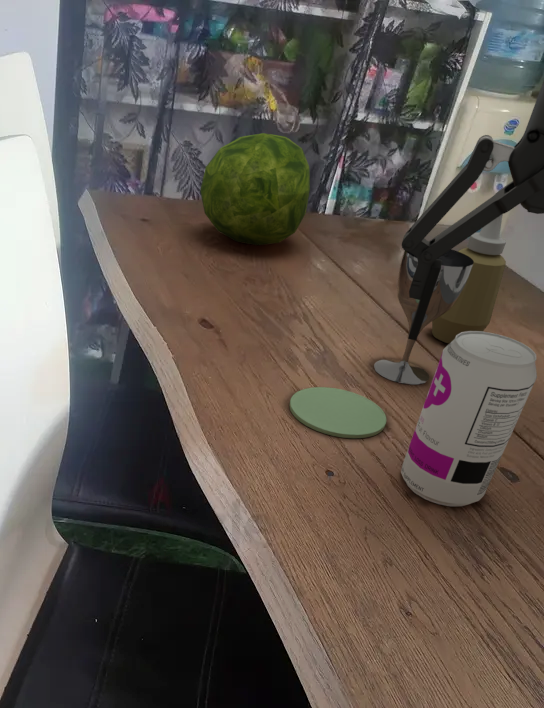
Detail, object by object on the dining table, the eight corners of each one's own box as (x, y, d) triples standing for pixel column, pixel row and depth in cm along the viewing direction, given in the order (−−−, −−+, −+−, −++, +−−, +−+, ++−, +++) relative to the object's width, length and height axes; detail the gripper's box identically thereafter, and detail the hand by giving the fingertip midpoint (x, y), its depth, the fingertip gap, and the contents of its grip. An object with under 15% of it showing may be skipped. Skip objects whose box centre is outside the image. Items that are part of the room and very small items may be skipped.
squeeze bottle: (473, 355, 102) (524, 222, 91) (416, 338, 105) (460, 206, 94) (486, 338, 108) (536, 211, 97) (432, 322, 111) (475, 197, 100)
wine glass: (392, 353, 100) (427, 241, 91) (443, 376, 95) (486, 260, 87) (358, 366, 95) (392, 249, 86) (411, 391, 91) (452, 271, 82)
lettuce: (309, 237, 143) (317, 132, 135) (301, 254, 123) (310, 132, 115) (211, 235, 147) (213, 133, 139) (188, 251, 127) (190, 133, 119)
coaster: (389, 405, 87) (390, 401, 87) (379, 448, 79) (381, 444, 78) (299, 382, 90) (300, 378, 89) (280, 422, 81) (281, 418, 81)
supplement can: (394, 495, 72) (445, 352, 63) (403, 455, 78) (451, 321, 69) (480, 520, 70) (545, 376, 61) (482, 477, 76) (542, 341, 67)
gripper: (423, 54, 52) (345, 333, 65) (815, 115, 47) (648, 406, 60) (429, 49, 58) (356, 307, 71) (778, 103, 53) (633, 371, 66)
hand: (489, 353), depth 65 cm, fingers open, 13 cm apart
